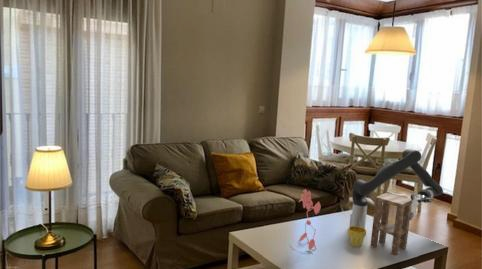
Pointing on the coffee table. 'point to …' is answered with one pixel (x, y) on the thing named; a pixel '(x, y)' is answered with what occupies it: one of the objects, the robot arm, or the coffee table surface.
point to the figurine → (307, 203)
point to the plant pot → (356, 235)
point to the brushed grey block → (414, 205)
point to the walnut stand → (393, 229)
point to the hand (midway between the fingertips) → (415, 200)
